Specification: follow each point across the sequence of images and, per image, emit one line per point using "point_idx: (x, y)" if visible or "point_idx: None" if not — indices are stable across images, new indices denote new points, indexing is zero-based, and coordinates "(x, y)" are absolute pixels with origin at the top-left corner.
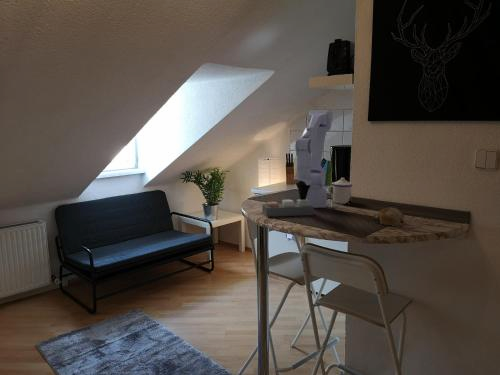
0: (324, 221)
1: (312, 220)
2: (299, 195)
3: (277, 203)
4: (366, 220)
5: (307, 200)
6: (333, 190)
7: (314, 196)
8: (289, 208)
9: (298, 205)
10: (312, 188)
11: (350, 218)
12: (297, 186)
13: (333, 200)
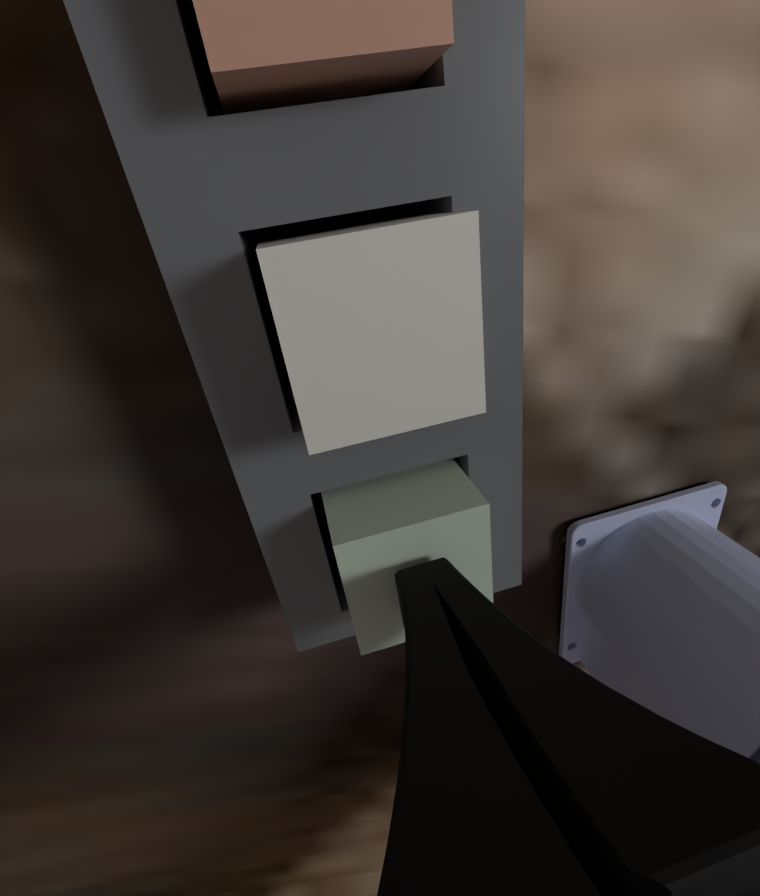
0: (5, 673)
1: (8, 576)
2: (461, 595)
3: (212, 38)
4: (155, 872)
5: (393, 638)
6: None
7: (650, 669)
8: (189, 338)
9: (370, 486)
10: (753, 750)
11: (198, 803)
12: (612, 746)
13: None
